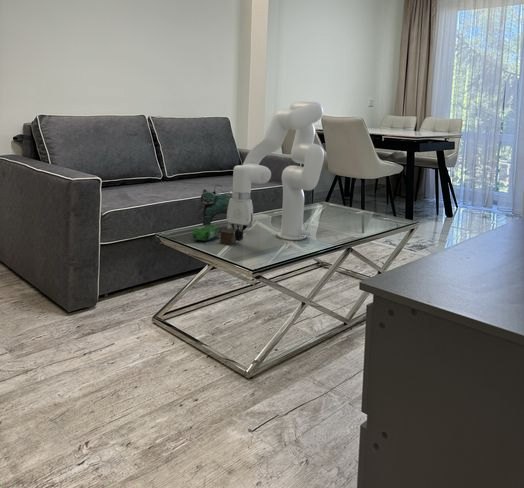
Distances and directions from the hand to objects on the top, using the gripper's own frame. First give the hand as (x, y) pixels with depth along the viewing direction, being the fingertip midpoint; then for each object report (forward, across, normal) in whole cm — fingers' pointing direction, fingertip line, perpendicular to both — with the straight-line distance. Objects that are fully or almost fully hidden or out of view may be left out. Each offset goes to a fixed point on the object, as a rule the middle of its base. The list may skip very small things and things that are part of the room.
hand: (238, 240), depth 203 cm
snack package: (+2, -15, 0) cm, 16 cm away
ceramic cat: (+2, -19, +22) cm, 30 cm away
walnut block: (+2, -5, 0) cm, 5 cm away
